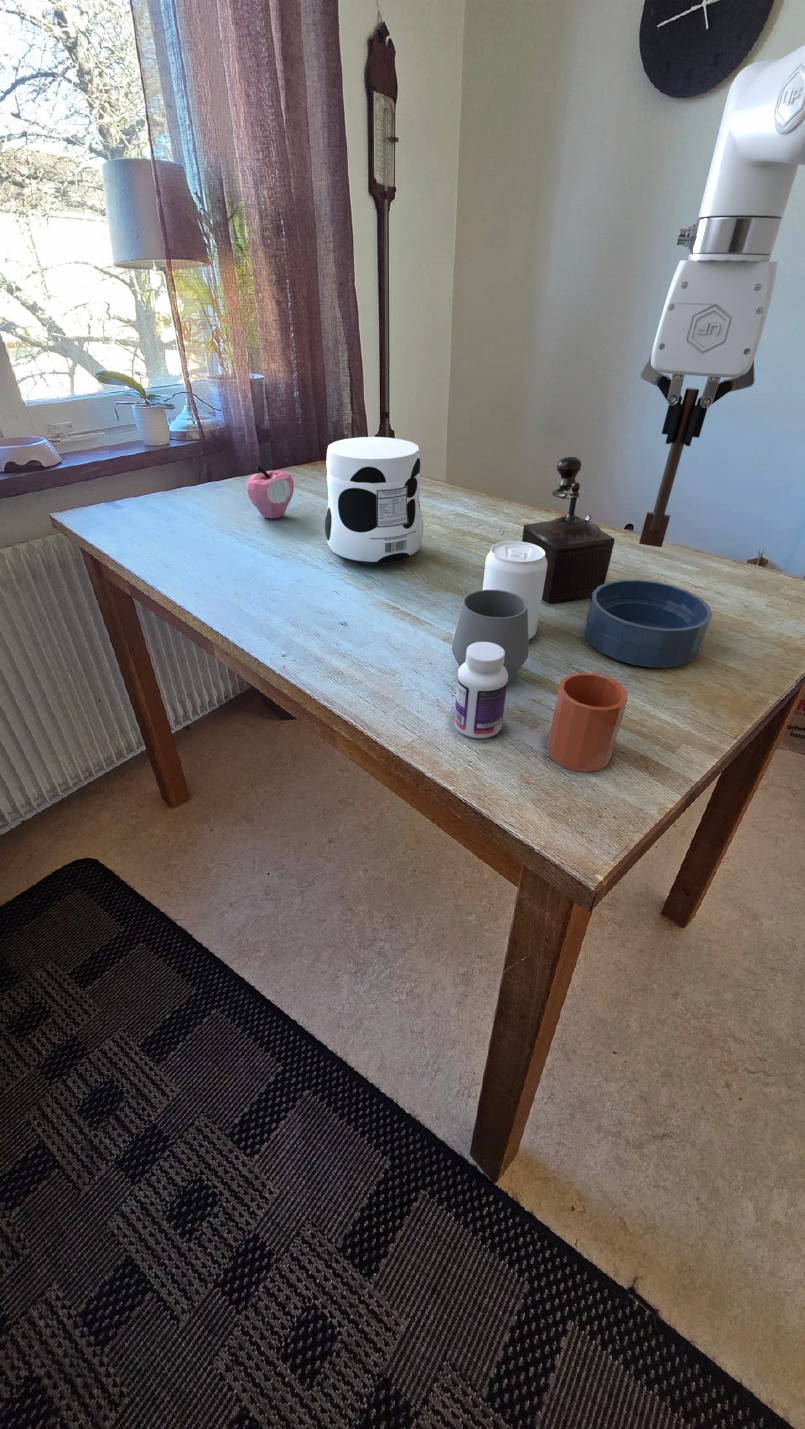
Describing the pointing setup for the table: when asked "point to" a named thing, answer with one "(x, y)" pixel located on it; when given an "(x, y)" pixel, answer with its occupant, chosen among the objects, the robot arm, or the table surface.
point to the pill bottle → (481, 691)
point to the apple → (270, 492)
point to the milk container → (373, 500)
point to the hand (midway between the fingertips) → (678, 441)
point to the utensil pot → (586, 721)
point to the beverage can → (518, 575)
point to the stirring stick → (669, 476)
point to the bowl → (647, 623)
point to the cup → (494, 626)
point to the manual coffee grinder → (571, 545)
